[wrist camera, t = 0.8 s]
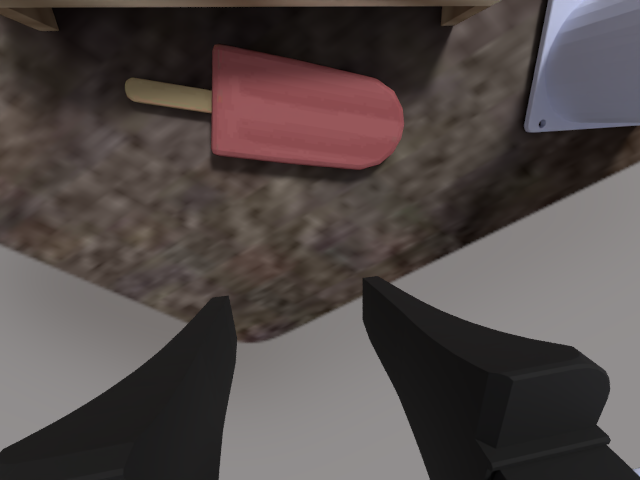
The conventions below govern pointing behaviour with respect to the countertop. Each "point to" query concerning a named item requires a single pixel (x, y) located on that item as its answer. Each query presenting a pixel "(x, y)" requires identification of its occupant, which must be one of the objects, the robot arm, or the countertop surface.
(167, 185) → the countertop surface
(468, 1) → the rail
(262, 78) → the popsicle
